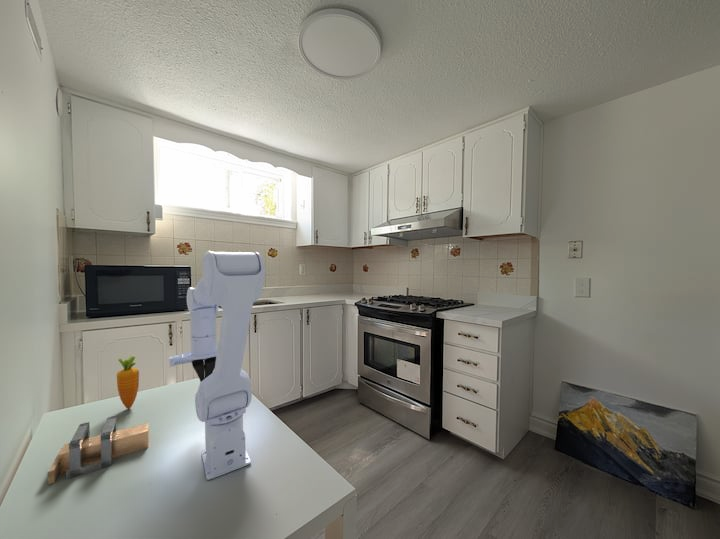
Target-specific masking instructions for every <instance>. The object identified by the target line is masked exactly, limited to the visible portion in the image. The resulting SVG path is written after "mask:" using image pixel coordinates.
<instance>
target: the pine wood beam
mask: <svg viewBox="0 0 720 539" xmlns="http://www.w3.org/2000/svg"><path fill="white" fill-rule="evenodd" d="M69 444H70V442H68V443H65V444H64V445H63V447H61V448H62V450H61V449H60V450H61V452H60V454H59V475H60V474H64V473H66V472H67V470H68V469H70V462H69ZM149 445H150V422H147V423H143V424H139V425H134V426H132V427H131V426H130V427H126V428H124V429H119V430H118V429H117V431H114V432H113V433H112V459H113V458H116V457H120V456H121V457H122V456H123V455H127V454H131V453H134V452H137V451H140V450H143V449H144V450H145V449H147V448H149ZM97 460H101V434H100V435H95V436H92V437H91V436H90V438H87V439H83V441H82V465H84V464H87V463H91V462H94V461H97Z"/></svg>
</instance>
